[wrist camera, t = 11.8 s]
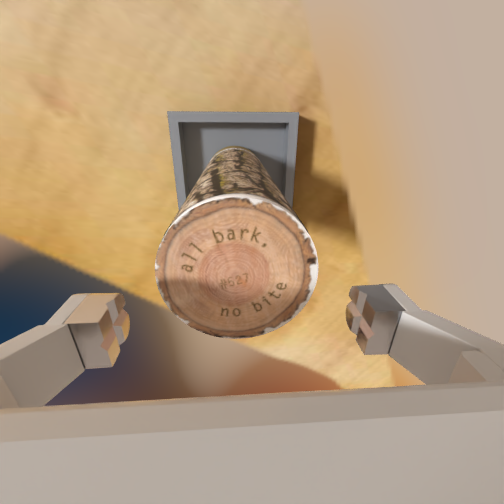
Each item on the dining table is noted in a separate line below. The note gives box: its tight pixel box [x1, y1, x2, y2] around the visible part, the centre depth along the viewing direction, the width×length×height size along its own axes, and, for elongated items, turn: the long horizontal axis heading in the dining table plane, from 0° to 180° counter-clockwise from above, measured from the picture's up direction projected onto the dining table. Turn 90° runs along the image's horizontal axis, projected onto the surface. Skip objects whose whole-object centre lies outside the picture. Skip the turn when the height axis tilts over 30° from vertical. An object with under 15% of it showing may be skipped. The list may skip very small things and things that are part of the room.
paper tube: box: [155, 146, 318, 339], centre depth 22 cm, size 7×7×25 cm
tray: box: [167, 111, 299, 210], centre depth 33 cm, size 14×14×3 cm
